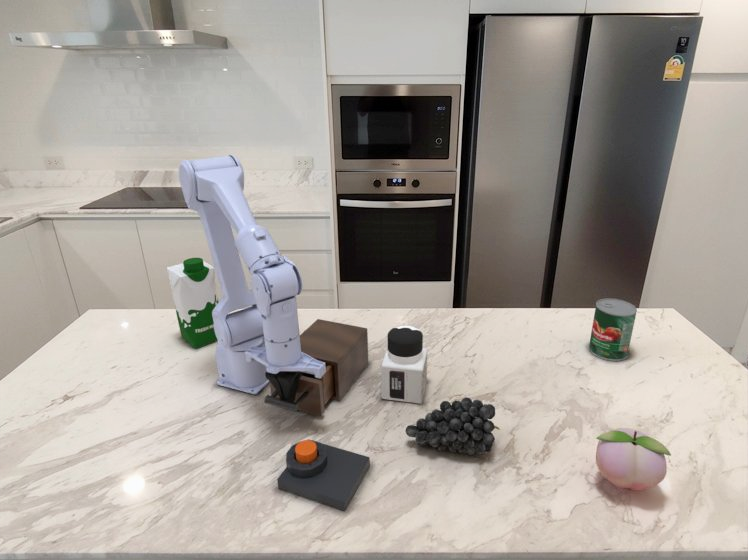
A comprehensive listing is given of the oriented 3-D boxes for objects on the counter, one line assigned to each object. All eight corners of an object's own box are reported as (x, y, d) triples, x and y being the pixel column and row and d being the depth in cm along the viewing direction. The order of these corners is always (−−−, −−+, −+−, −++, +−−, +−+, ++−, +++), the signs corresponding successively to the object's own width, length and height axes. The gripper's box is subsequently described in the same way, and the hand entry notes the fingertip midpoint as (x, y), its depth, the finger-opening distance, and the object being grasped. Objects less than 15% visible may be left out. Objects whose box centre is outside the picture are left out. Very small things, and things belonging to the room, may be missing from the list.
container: (421, 404, 89) (423, 344, 84) (381, 399, 91) (380, 339, 86) (426, 380, 96) (428, 323, 91) (388, 376, 98) (388, 319, 93)
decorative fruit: (649, 468, 74) (663, 416, 70) (665, 512, 67) (681, 456, 63) (584, 458, 76) (594, 407, 72) (593, 499, 69) (605, 445, 65)
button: (292, 460, 72) (291, 451, 72) (303, 446, 75) (302, 437, 74) (310, 466, 71) (309, 457, 71) (321, 452, 74) (320, 443, 73)
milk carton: (193, 352, 107) (177, 269, 99) (176, 337, 113) (160, 258, 105) (229, 338, 112) (217, 258, 105) (211, 324, 118) (198, 248, 111)
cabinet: (339, 401, 90) (337, 362, 87) (286, 388, 94) (282, 350, 91) (368, 363, 102) (367, 328, 98) (320, 353, 106) (317, 318, 103)
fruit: (404, 407, 74) (503, 408, 73) (405, 390, 82) (494, 390, 81) (405, 461, 75) (502, 463, 74) (406, 439, 83) (494, 440, 82)
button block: (275, 487, 72) (272, 469, 70) (305, 447, 79) (304, 430, 78) (344, 511, 68) (343, 493, 66) (369, 466, 75) (369, 448, 74)
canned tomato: (630, 348, 106) (639, 303, 102) (624, 365, 100) (634, 318, 96) (592, 338, 110) (599, 295, 106) (584, 354, 104) (592, 309, 100)
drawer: (308, 433, 81) (305, 400, 78) (256, 418, 85) (252, 386, 82) (351, 377, 96) (350, 348, 93) (306, 367, 99) (303, 338, 97)
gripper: (229, 337, 78) (240, 406, 83) (308, 354, 73) (314, 426, 78) (255, 318, 84) (264, 383, 89) (329, 333, 79) (334, 400, 84)
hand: (289, 402), depth 84 cm, fingers closed, pressing on drawer
